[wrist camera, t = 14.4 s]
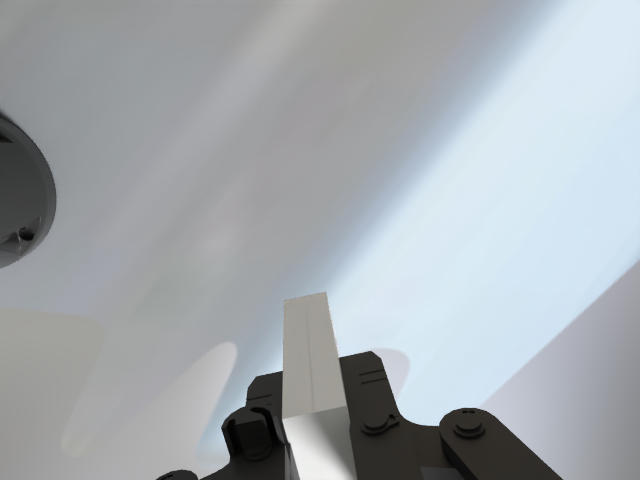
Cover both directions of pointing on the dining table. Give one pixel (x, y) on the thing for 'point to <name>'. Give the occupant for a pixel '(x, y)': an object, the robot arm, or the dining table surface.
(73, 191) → the dining table surface
